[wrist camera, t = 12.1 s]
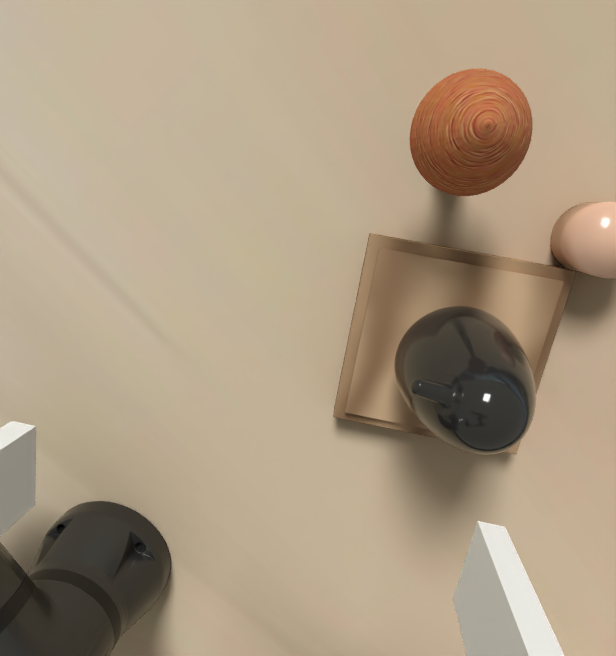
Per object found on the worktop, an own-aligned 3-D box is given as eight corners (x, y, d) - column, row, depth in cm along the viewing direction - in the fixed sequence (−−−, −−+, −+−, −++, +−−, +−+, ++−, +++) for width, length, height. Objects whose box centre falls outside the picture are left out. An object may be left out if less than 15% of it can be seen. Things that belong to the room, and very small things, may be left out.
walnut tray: (334, 406, 48) (332, 419, 45) (369, 233, 43) (370, 235, 40) (508, 442, 46) (518, 457, 44) (564, 268, 42) (579, 272, 39)
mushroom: (386, 186, 42) (401, 174, 27) (414, 93, 39) (445, 25, 25) (472, 209, 41) (532, 208, 27) (504, 116, 39) (588, 61, 25)
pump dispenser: (421, 277, 40) (456, 316, 26) (527, 326, 40) (623, 393, 26) (370, 375, 43) (376, 460, 28) (470, 421, 43) (526, 529, 29)
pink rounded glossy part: (543, 266, 42) (566, 273, 37) (559, 198, 40) (586, 197, 36) (611, 274, 41) (643, 282, 37) (630, 206, 40) (667, 205, 35)
